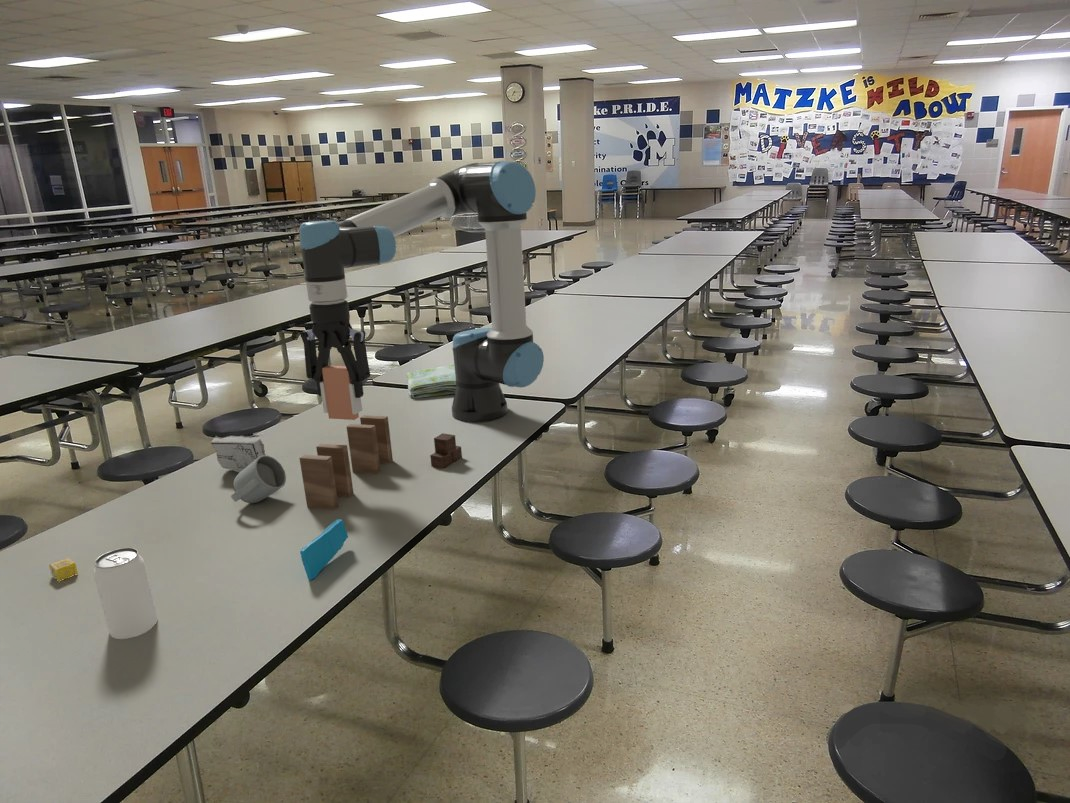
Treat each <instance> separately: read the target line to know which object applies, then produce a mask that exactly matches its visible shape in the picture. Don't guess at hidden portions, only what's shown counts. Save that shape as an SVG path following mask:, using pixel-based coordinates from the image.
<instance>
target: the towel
mask: <svg viewBox="0 0 1070 803" xmlns="http://www.w3.org/2000/svg"><path fill="white" fill-rule="evenodd" d="M406 378H407V379H406V380H407V390H408V397H409V398H410V399H421V398H422V399H423V398H428V397H437V396H444V395H445V396H446V395H453V394H454V395H455V392H456V376H455V366H454V364H450V365H444V366H438V367H436V366H435V367H430V368H429V367H428V368H423V369H417V370H412V371H408V372H406Z"/></svg>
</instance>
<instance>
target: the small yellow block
mask: <svg viewBox="0 0 1070 803" xmlns="http://www.w3.org/2000/svg"><path fill="white" fill-rule="evenodd" d="M48 566H49V570H50V574H51V577H52V576H53V577H54V578H55V579H57V580H58V581H60V580H62V579H65V578H68V577H70V576H72V575H75V574H78V575H79V573H78V569H77V565H76V562H74V561H73V560H71V558H69V557H66V558H63V559H60V560H58V561H57V560H56V561H55V562H51V563H49V565H48ZM53 577H52V578H53ZM54 578H53V579H54ZM55 579H54V580H55Z"/></svg>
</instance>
